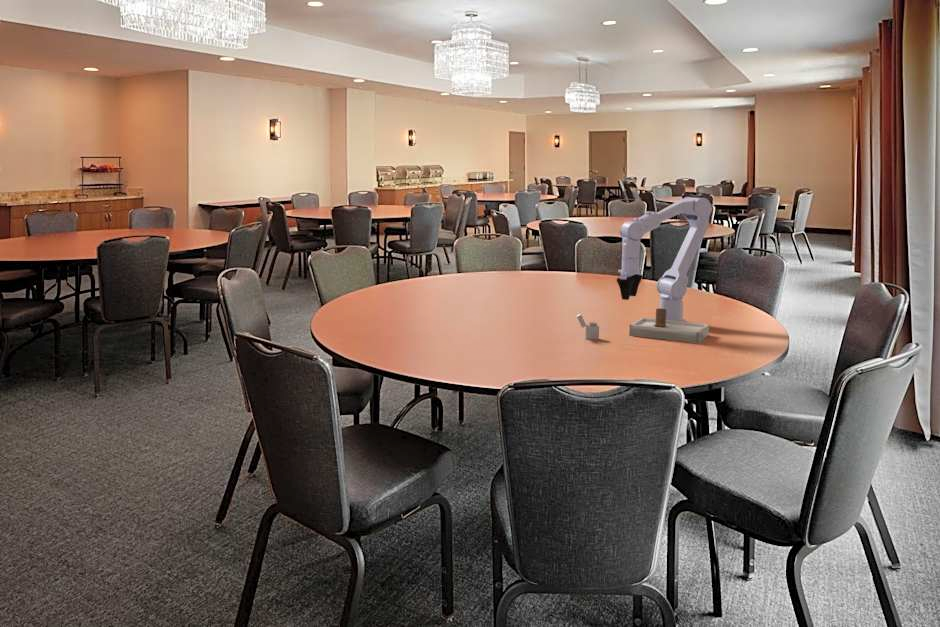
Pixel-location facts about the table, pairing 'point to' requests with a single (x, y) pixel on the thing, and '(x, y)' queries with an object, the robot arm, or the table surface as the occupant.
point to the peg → (660, 318)
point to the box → (670, 330)
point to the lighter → (590, 328)
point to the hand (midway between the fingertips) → (629, 297)
